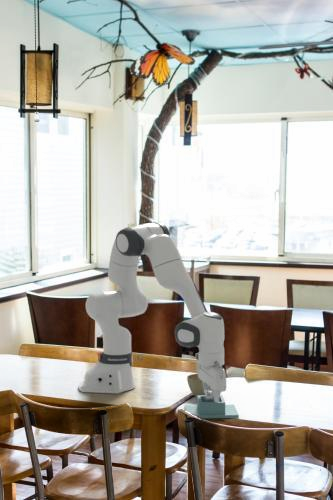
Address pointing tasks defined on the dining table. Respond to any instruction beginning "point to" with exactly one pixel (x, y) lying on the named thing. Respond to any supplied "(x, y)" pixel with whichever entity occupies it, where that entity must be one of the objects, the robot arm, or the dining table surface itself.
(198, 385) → the flower pot
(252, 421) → the dining table surface
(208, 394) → the gray rectangular block
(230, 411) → the well
